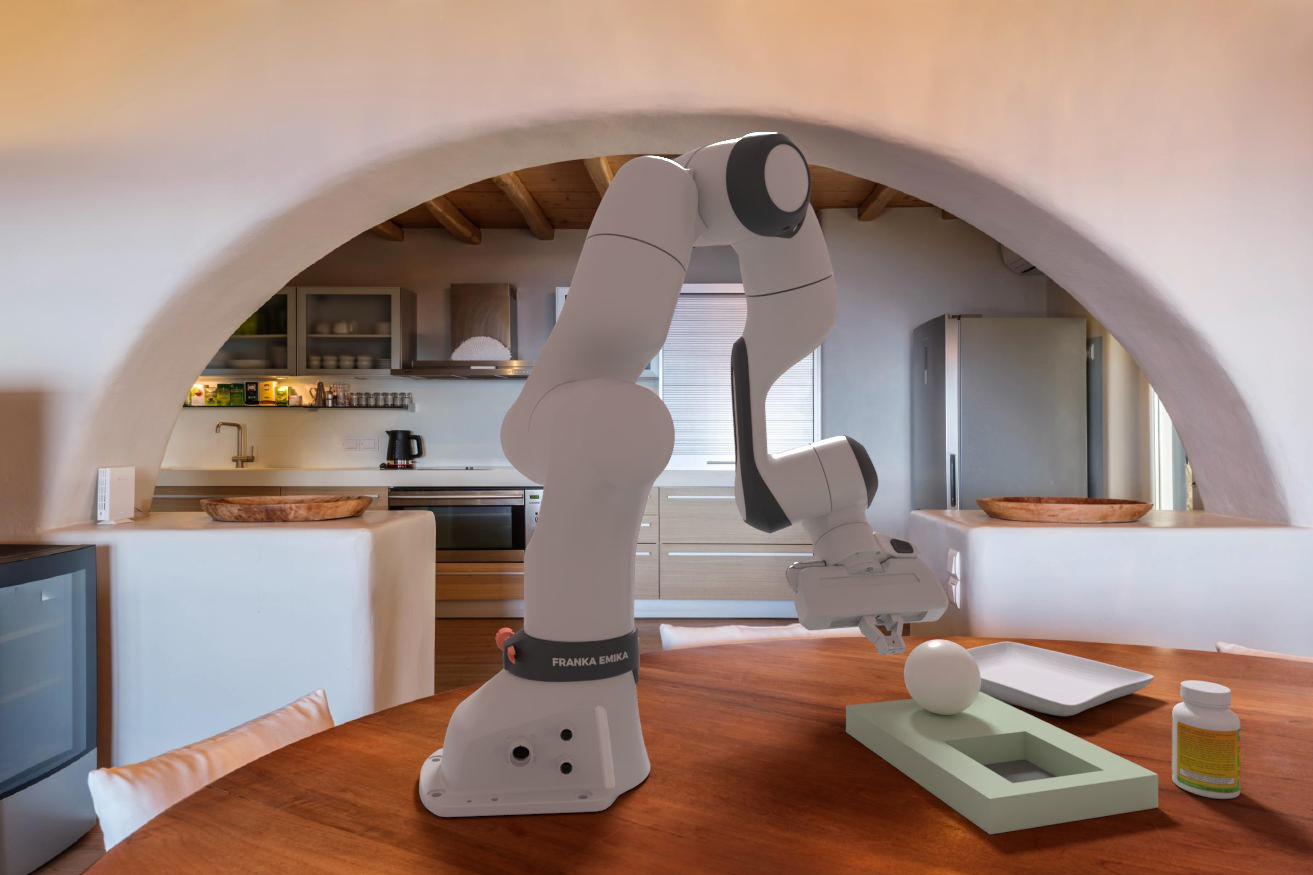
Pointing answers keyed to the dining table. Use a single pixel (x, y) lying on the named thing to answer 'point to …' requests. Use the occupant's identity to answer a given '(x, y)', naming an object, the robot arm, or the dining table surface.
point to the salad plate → (1051, 678)
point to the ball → (942, 677)
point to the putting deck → (1002, 764)
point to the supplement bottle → (1206, 741)
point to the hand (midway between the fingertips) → (893, 652)
